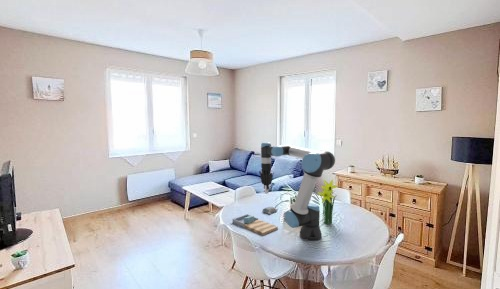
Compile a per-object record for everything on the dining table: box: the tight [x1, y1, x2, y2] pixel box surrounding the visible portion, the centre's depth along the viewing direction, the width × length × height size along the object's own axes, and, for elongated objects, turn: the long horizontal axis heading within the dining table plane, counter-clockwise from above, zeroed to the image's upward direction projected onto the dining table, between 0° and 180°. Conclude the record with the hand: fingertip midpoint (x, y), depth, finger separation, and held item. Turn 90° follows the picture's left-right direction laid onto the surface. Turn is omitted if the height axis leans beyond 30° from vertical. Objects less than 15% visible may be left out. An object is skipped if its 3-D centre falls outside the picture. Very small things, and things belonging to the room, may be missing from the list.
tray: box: [232, 214, 259, 228], centre depth 213 cm, size 13×16×3 cm
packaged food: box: [261, 206, 279, 215], centre depth 234 cm, size 9×12×5 cm
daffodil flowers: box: [316, 178, 339, 226], centre depth 207 cm, size 17×15×35 cm
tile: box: [243, 215, 255, 223], centre depth 210 cm, size 6×6×4 cm
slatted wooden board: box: [243, 219, 279, 236], centre depth 201 cm, size 20×16×2 cm
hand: (266, 193), depth 204 cm, fingers closed
